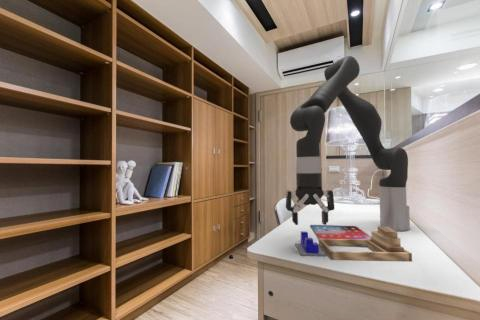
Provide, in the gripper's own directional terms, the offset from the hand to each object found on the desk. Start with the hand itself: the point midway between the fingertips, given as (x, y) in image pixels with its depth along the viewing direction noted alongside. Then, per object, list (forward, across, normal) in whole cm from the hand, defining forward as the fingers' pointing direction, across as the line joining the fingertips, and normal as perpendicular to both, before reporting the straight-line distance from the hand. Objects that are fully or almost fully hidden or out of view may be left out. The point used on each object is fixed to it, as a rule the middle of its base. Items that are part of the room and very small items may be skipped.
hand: (310, 224), depth 69 cm
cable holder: (+8, 0, 0) cm, 8 cm away
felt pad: (+8, 0, 0) cm, 8 cm away
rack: (+8, -15, +1) cm, 17 cm away
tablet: (+9, -16, -16) cm, 24 cm away
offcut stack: (+8, -22, +1) cm, 24 cm away
